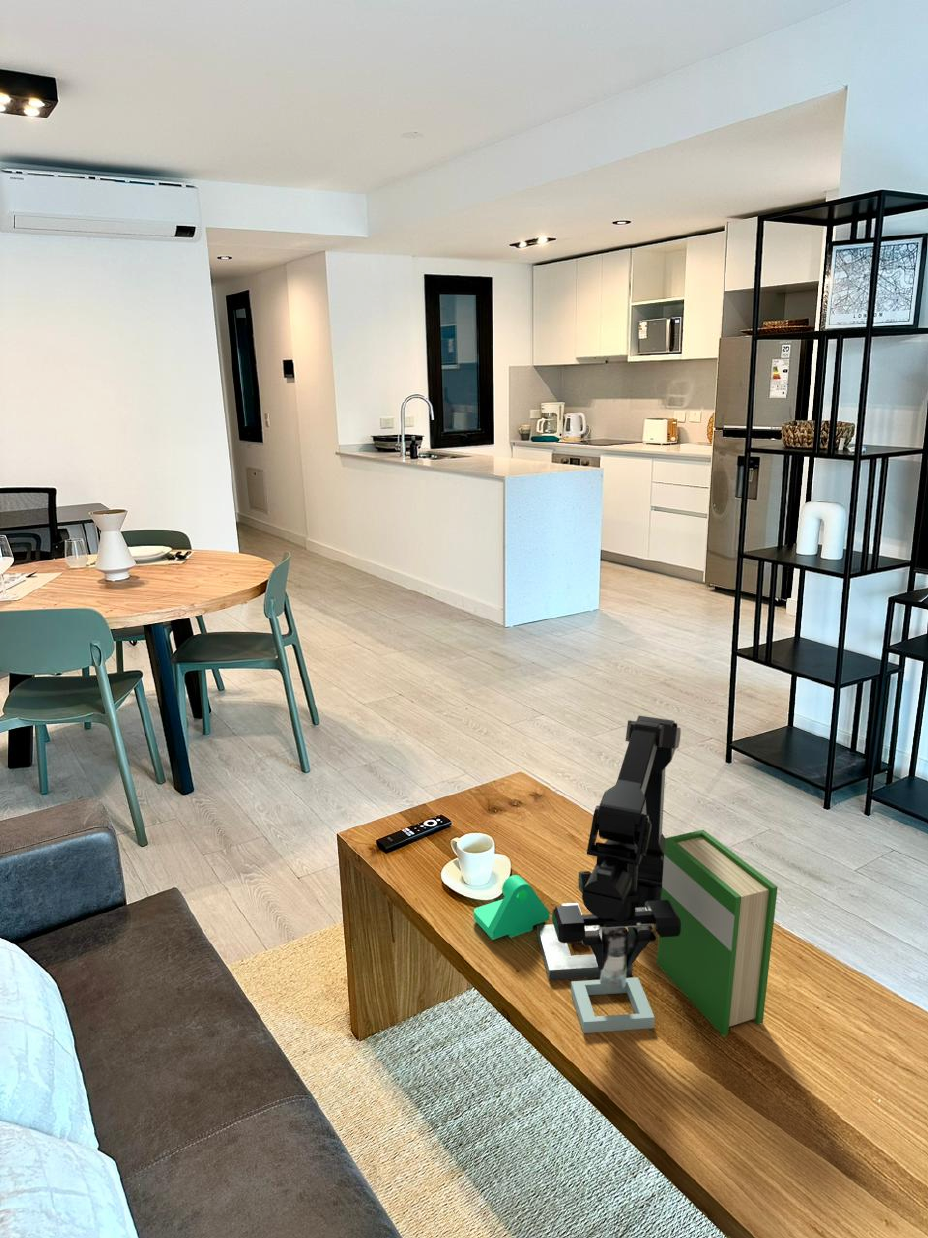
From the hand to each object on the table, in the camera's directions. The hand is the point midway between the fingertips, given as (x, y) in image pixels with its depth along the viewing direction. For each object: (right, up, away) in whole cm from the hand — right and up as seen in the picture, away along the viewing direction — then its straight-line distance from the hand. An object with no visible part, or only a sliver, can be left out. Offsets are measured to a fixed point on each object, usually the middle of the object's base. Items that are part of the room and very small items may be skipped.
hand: (613, 967), depth 131 cm
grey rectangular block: (-3, -2, +22) cm, 22 cm away
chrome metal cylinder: (0, -2, +1) cm, 2 cm away
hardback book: (+16, -7, +6) cm, 18 cm away
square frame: (0, -7, +2) cm, 8 cm away
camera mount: (-15, -2, +24) cm, 28 cm away
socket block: (-3, -4, +15) cm, 16 cm away
